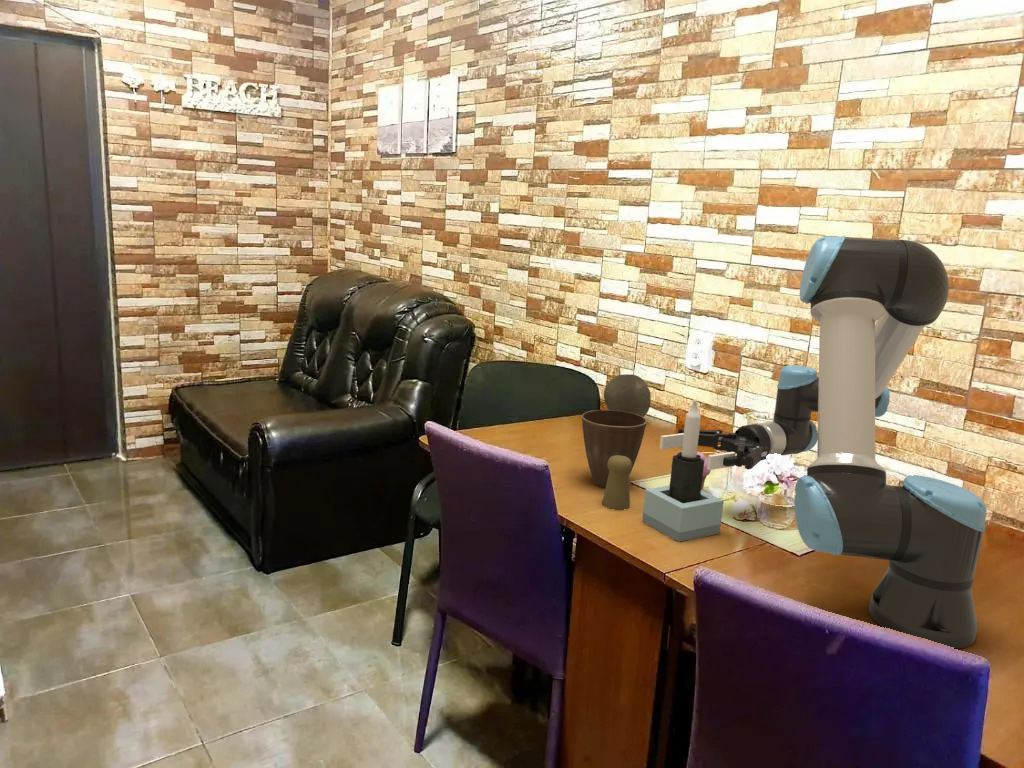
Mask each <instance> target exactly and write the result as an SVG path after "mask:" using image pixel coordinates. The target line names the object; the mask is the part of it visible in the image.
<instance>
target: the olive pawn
mask: <svg viewBox="0 0 1024 768" xmlns="http://www.w3.org/2000/svg"><path fill="white" fill-rule="evenodd" d="M607 465H608V469H609V475H608V479H607V484H606V488H605V487H604V493H603V497H602V501H601V505H602V506H603V507H604V506H605V507H604V508H606V507H607V508H606V509H608V508H610V509H609V510H612V509H614V510H613V511H625V510H624V509H626V510H629V508H630V507H631V505H630V504H631V501H630V498H631V497H630V483H629V481H630V479H629V477H630V475H629V474H628V473H629V472H630V470H631V468H632V463H631V460H630V459H629V458H628V457H625V456H620V455H615V456H612V457H610V458H609V460H608V463H607ZM632 469H633V468H632Z"/></svg>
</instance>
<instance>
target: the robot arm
mask: <svg viewBox="0 0 1024 768" xmlns="http://www.w3.org/2000/svg"><path fill="white" fill-rule="evenodd" d="M944 265H945V264H943V262H942V260H941V259H940V258H939V256H938V255H937V254H936V253H935V252H934V251H933V250H931V249H930V248H929V247H928V246H925V245H924V244H922V243H920V242H916V241H915V240H914V241H913V240H909V239H890V238H889V239H888V238H867V237H854V236H853V237H852V236H851V237H850V236H849V237H848V236H846V235H840V236H822V237H820V238H818V239H816V241H815V242H814V243H813V244H812V246H811V248H810V249H809V253H808V255H807V258H806V261H805V265H804V268H803V270H802V275H801V281H800V286H799V300H800V301H801V302H802V303H805V305H806V304H810V313H809V314H810V316H811V317H812V318H813V319H814V320H815V321H816V322H818V324H819V344H818V345H819V347H818V349H819V350H818V351H819V352H818V370H817V369H815V368H814V367H811V366H803V365H796V364H793V365H792V364H791V365H785V366H783V367H782V368H781V370H780V373H779V377H778V383H777V386H776V387H777V389H776V396H775V397H776V400H775V406H774V414H773V420H772V421H768V422H767V421H766V422H760V423H754V424H746V425H742V426H739V427H738V428H737V429H736V430H735V432H734V433H733V432H728V433H723V430H721V429H713V430H710V429H700V430H699V438H698V447H708V448H713V449H714V450H716V451H723V452H724V451H725V452H724V453H716V454H710V455H708V457H707V459H708V464H707V469H708V470H711V471H712V470H713V471H714V470H717V469H718V470H719V469H724V468H731V467H738V468H741V467H743V466H744V468H745V470H751V469H753V468H754V467H755V466H756V465H758V463H760V462H761V461H765V460H767V459H766V456H767V455H768V454H774V453H777V454H781V456H787V455H797V454H801V453H804V452H807V451H810V450H812V449H813V448H814V447H815V446H816V444H817V452H816V453H817V454H816V455H817V456H816V459H815V460H813V462H811V463H810V464H809V465H808V466H807V468H806V469H807V470H806V475H802V476H800V477H799V478H798V479H797V482H796V483H795V488H794V489H795V490H794V492H795V495H794V499H793V500H794V515H795V521H796V525H797V526H796V527H797V530H798V533H799V536H800V538H801V540H802V543H804V544H805V545H806V547H807V548H809V549H810V550H812V551H815V552H821V553H827V554H831V555H833V556H849V557H860V558H868V559H874V560H875V559H876V560H877V559H878V560H885V561H886V560H887V561H889V562H888V568H887V569H886V571H885V573H884V575H883V576H882V577H881V580H880V581H879V582H878V584H877V586H876V588H875V589H874V590H873V592H872V594H871V596H870V601H869V606H868V613H869V616H870V617H871V619H872V620H874V622H875V623H876V624H877V625H879V626H880V627H881V626H883V627H886V628H890V629H893V630H896V631H899V632H903V633H906V634H910V635H913V636H917V637H921V638H925V639H928V640H931V641H934V642H937V643H941V644H944V645H947V646H950V647H954V648H957V649H956V650H958V649H964V648H967V647H969V646H971V645H972V644H974V643H975V641H976V637H977V636H976V635H977V632H978V621H977V614H976V609H975V603H974V597H973V591H972V588H973V583H974V579H975V575H976V570H977V565H978V561H979V557H980V552H981V546H982V542H983V539H984V538H983V537H984V533H985V532H986V519H987V513H988V512H987V511H988V510H987V506H986V503H985V501H983V500H982V498H981V497H979V495H977V494H976V493H974V492H972V491H971V490H968V489H966V488H964V487H961V486H959V485H956V484H955V483H951V482H948V481H945V480H941V479H938V478H934V477H929V476H925V475H920V474H918V475H916V474H914V475H907V476H906V477H904V479H903V480H902V481H901V485H902V486H899V485H898V486H897V485H891V484H887V471H886V469H885V468H884V467H883V466H881V465H880V463H878V462H877V460H876V418H880V417H882V416H884V415H885V414H886V413H887V411H888V406H889V405H890V395H891V394H890V389H889V387H888V385H889V384H890V382H891V380H892V379H893V377H894V375H895V374H896V373H897V370H898V369H899V367H900V366H901V364H902V363H903V361H904V360H905V358H906V357H907V355H908V353H909V352H910V350H911V349H912V347H913V346H914V344H915V343H916V341H917V340H918V338H919V336H920V334H921V333H922V331H923V330H924V328H925V327H927V326H929V325H932V324H934V322H935V321H936V320H937V319H938V318H939V316H940V315H941V314H942V312H943V311H944V309H945V306H946V304H947V301H948V298H949V293H950V292H949V291H950V281H949V275H948V272H947V270H946V268H945V266H944ZM812 413H817V426H816V424H815V423H814V422H813V421H812V420H811V419H812ZM683 437H684V428H682V429H681V428H679V429H677V433H674V434H666V435H665V434H664V435H660V439H659V440H660V441H659V449H660V450H668V449H669V450H670V449H674V448H682V446H683ZM719 443H720V446H719ZM883 627H882V628H883Z"/></svg>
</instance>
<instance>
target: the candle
mask: <svg viewBox="0 0 1024 768" xmlns="http://www.w3.org/2000/svg"><path fill="white" fill-rule="evenodd" d="M697 403H698V399H696V398H694V399H693V400H692V405H691V406H690V409H689V411H688V412H687V413H686V415H685V417H684V418H685V421H684V428H683V429H684V437H683V446H682V447H681V451H682V452H680V451H678V452H679V453H678V452H676V453H677V455H676V454H674V455H673V456H672V461H671V465H672V468H671V470H670V480H669V485H670V488H669V497H671V498H673V499H675V500H677V501H679V502H681V503H688V502H693V501H699V500H700V495H701V486H702V478H703V469H704V460H703V459H701V456H700V455H697V452H698V447H699V446H698V438H699V430H701V429H700V428H701V420H702V417H701V414H700V412H699V409H698V404H697Z"/></svg>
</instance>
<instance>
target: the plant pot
mask: <svg viewBox="0 0 1024 768" xmlns="http://www.w3.org/2000/svg"><path fill="white" fill-rule="evenodd" d="M647 422H648V421H647V418H645V416H644V417H642V416H640V415H637V414H634V413H630V412H624V411H617V410H609V409H597V410H589V411H586V412H584V413H582V415H581V424H582V426H581V427H582V435H583V443H584V447H585V454H586V459H587V463H588V468H589V471H590V474H591V479H592V480H593V483H594V485H597V486H599V487H601V488H604V489H605V488H606V484H607V479H608V475H609V469H608V465H607V463H608V460H609V458H610V457H612V456H615V455H620V456H625V457H628V458H629V459H630V460H631V463H632V468H631V470H630V472H629V473H628V474H629V476H630V475H631V473H632V470H633V468H634V465H635V462H637V461H636V460H637V457H638V455H639V453H640V449H641V447H642V446H641V445H642V441H643V438H644V434H645V431H646V426H647Z"/></svg>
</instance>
